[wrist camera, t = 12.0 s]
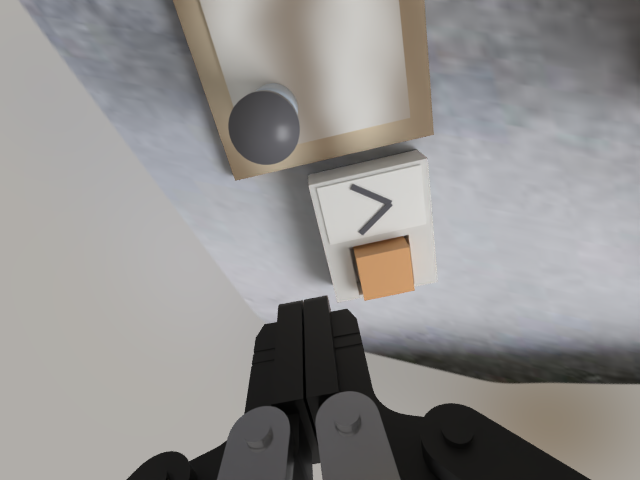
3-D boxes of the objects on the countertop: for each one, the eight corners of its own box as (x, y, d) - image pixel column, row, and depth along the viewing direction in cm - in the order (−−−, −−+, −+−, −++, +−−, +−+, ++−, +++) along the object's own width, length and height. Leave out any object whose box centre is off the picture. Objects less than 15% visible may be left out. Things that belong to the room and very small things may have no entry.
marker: (292, 75, 22) (289, 83, 15) (304, 128, 23) (307, 156, 17) (242, 88, 22) (217, 101, 16) (257, 139, 24) (241, 171, 17)
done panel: (417, 149, 26) (428, 158, 23) (428, 265, 30) (438, 283, 28) (307, 174, 26) (308, 186, 24) (334, 285, 31) (337, 304, 28)
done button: (403, 235, 27) (409, 247, 25) (408, 277, 28) (414, 290, 27) (352, 246, 27) (356, 258, 25) (361, 286, 29) (364, 300, 27)
